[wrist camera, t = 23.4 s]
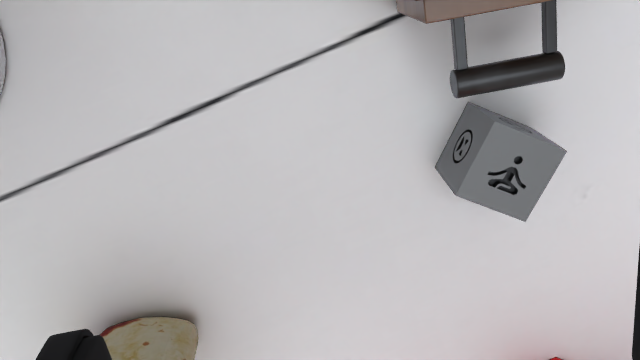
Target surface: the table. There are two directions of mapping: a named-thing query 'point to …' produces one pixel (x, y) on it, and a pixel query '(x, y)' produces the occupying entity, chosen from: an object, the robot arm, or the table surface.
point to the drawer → (457, 3)
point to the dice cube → (498, 162)
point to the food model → (152, 339)
